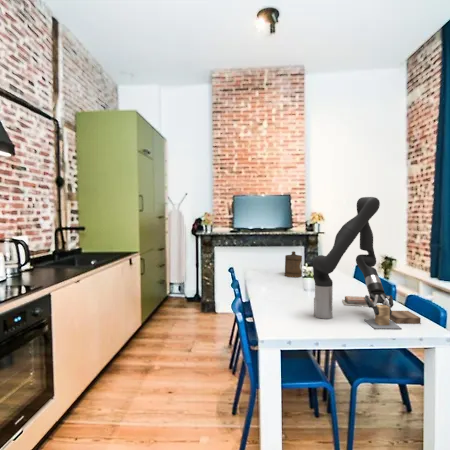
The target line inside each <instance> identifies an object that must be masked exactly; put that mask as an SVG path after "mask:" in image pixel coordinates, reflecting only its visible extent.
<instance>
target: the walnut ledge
mask: <svg viewBox="0 0 450 450" xmlns="http://www.w3.org/2000/svg"><path fill="white" fill-rule="evenodd" d="M391 311H392V314H391V315H390V320H391V321H392V322H394V323H395V324H396V325H398V324H399V325H400V324H401V325H403V324H405V325H406V324H409V325H410V324H411V325H412V324H413V325H414V324H415V325H416V324H418V325H419V324H420V325H421V317H420V316H418V315H416V314H415V313H413V312H411V311H409V310H391Z"/></svg>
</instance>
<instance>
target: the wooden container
mask: <svg viewBox="0 0 450 450" xmlns="http://www.w3.org/2000/svg"><path fill="white" fill-rule="evenodd" d="M284 257H285V258H284V260H285V261H284V262H285V263H284V276H285V277H287V278H301V277H302V276H303V256H302V255H299V254H296V251H294V250H293V251H291V254H286V255H285V256H284Z"/></svg>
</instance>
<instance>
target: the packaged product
mask: <svg viewBox="0 0 450 450" xmlns="http://www.w3.org/2000/svg"><path fill="white" fill-rule="evenodd" d="M364 298H365V296H353V295H345V296H344V299H342V300H341V301H342V304H343V306H345V307H347V306H348V307H362V306H363V307H364V308H365V307H367V308H369V307H368V305H367V303H366V301H365V299H364ZM370 301H371V303H372V304H373V300H371V299H370Z"/></svg>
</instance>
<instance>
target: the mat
mask: <svg viewBox="0 0 450 450" xmlns="http://www.w3.org/2000/svg"><path fill="white" fill-rule="evenodd" d="M364 322H365V323H366V324H368V325H369V326H370V327H371V328H372V329H373V330H402V327H401V326H399V325H398V324H396V323H395V322H394V321H392V320H391V319H390V321H389V325H378V324H377V323H376V322H375V318H374V319H373V318H372V319H369V318H367V319H365V318H364Z"/></svg>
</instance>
